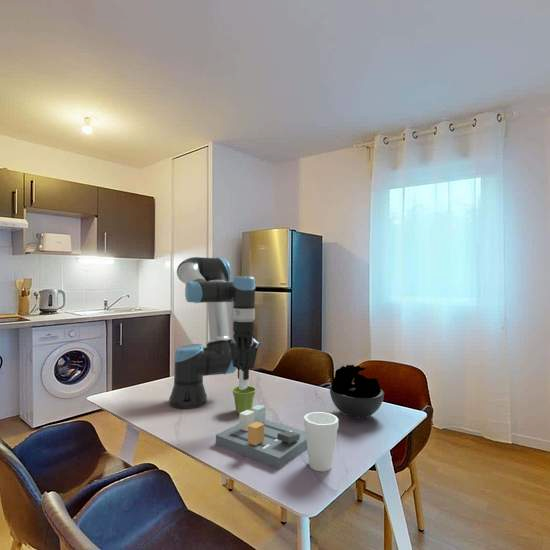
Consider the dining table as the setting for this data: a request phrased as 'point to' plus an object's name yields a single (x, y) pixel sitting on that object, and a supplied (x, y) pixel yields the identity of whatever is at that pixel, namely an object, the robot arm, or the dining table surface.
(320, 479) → the dining table surface
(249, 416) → the slider cream
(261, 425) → the slider orange
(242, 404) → the plant pot
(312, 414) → the foam cup
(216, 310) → the robot arm
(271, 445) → the panel
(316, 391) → the dining table surface
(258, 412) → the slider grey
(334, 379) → the bowl of black rocks
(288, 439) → the block
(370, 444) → the dining table surface
